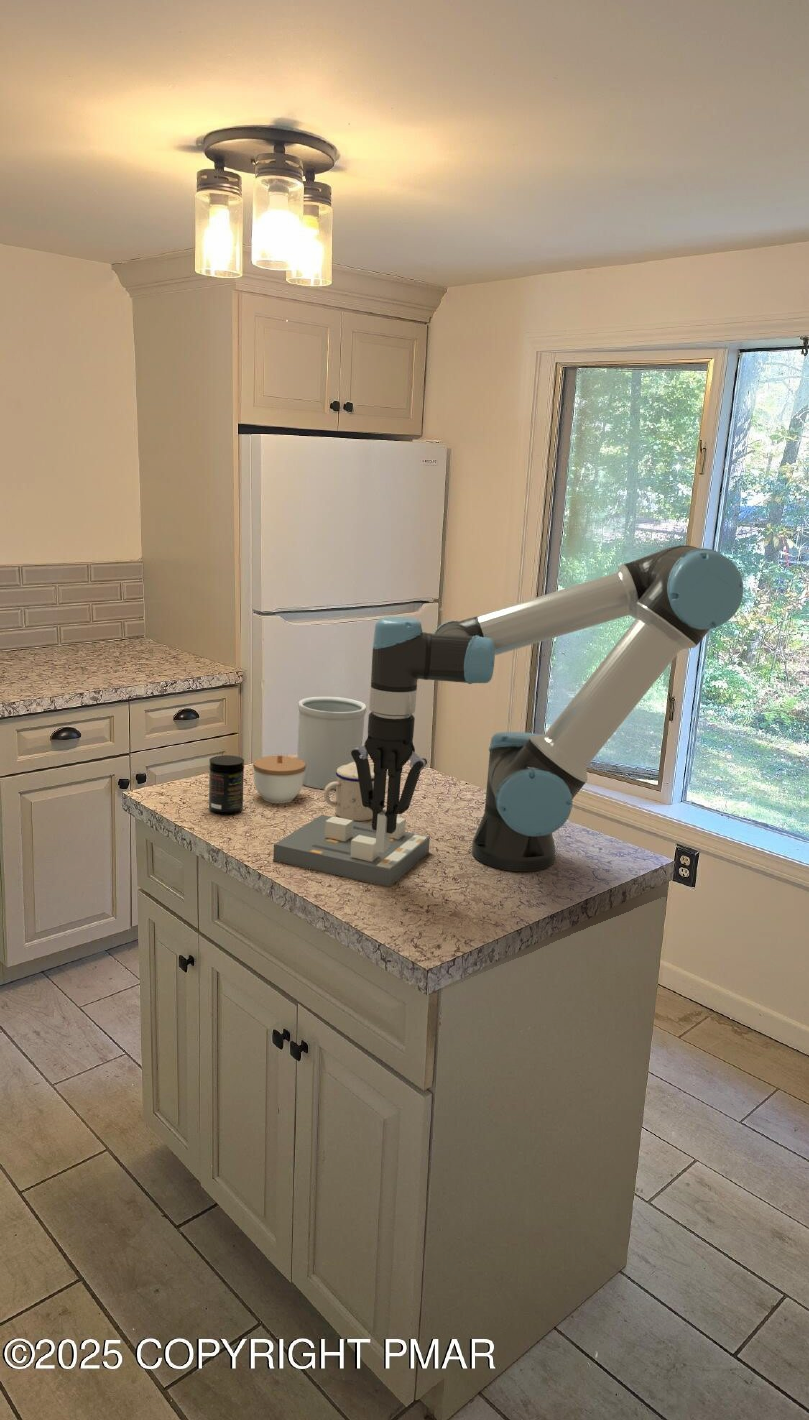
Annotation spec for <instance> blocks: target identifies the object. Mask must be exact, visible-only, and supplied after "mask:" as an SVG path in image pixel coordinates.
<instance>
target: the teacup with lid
mask: <svg viewBox="0 0 809 1420" xmlns="http://www.w3.org/2000/svg"><path fill="white" fill-rule="evenodd" d="M369 766H370V773H371V779H372V785H373V786H374V772H373V769H374V765H373V766H372V765H370V764H369ZM336 775H337V782H331V783H329V784H328V785H327V786H326V787H325V789H323V790H324V791H323V797H324V801H325V802H326V803H327V804H328V805H330V807H335V809H334V813H335V814H336V817H339V818H344V819H348V820H353V821H355V822H365V821H370V820H371V821H372V817H373V812H372V810H371V809H370V808H368V807H364V806H363V804H362V798H361V792H360V786H359V780H358V773H357V767H356V763H355V761H354V762H352V763H349V764H348V765H343V766H341V767H339V768H338V769H337V771H336ZM334 786H336V789H335V790H336V791H335V801H331V799H330V791H331V790H332V789H331V788H332V787H334Z"/></svg>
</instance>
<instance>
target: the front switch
mask: <svg viewBox="0 0 809 1420" xmlns="http://www.w3.org/2000/svg"><path fill="white" fill-rule="evenodd" d="M375 846H376V838H371V837H367V836H362V835H358V836H357V837H355V838H354V839H352V840H351V856H350V857H353V858H357V859H362V860H366V861H371V862H372V861H373V860H375V859H376V858H377V857H379V852H377V851H375Z"/></svg>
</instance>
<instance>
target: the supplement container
mask: <svg viewBox="0 0 809 1420" xmlns="http://www.w3.org/2000/svg"><path fill="white" fill-rule="evenodd" d="M208 763H209V764H208V769H209V771H208V775H209V776H208V778H209V779H208V781H209V782H208V809H209V811H210V813H212V814H214V815H218V816H233V815H237V814H240V813H241V812H242V810H243V808H244V778H245V775H244V774H245V759H244V758H243V757H240V756H236V755H230V754H227V755H224V754H223V755H216V756H212V757H210V758H209V762H208Z"/></svg>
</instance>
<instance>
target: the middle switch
mask: <svg viewBox="0 0 809 1420" xmlns="http://www.w3.org/2000/svg"><path fill="white" fill-rule="evenodd" d="M330 817H331V818H330V819H328V820H327V821H325V837H326V838H331V839H336V840H340V841H346V840H348V839H349V838H351V837H352V833H353V820H348V819H344V818H341V817H339V816H330Z"/></svg>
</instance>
